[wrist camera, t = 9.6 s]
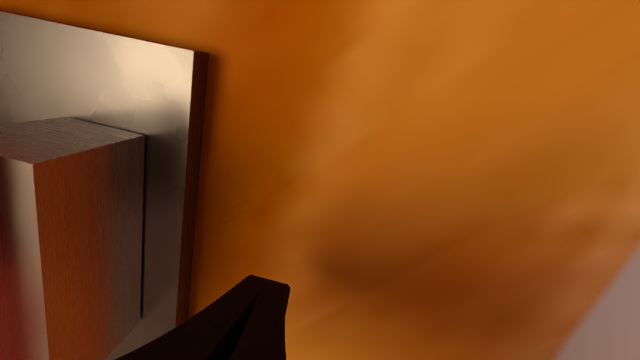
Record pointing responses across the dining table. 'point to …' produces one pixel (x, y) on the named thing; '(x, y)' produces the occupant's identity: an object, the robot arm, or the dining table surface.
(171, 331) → the robot arm
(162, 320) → the press
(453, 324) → the dining table surface
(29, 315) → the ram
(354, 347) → the dining table surface
